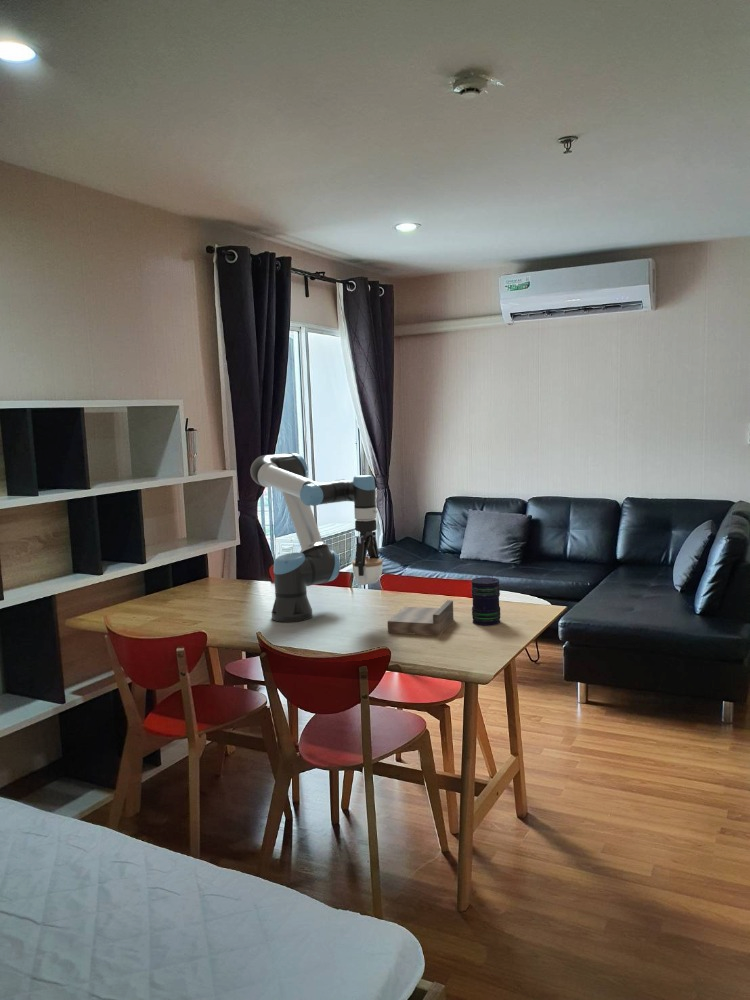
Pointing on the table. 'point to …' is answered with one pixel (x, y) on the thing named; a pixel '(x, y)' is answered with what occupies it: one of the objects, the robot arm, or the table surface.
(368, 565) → the lidded jar
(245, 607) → the table surface
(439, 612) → the riser block
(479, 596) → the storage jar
